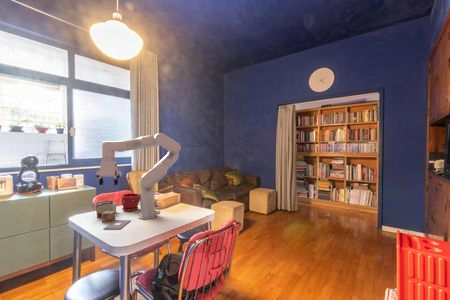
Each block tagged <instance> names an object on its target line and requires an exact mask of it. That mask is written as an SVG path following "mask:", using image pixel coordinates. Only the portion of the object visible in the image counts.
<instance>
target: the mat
mask: <svg viewBox="0 0 450 300" xmlns="http://www.w3.org/2000/svg"><path fill="white" fill-rule="evenodd" d="M131 221H132V219H131V220H130V219H125V220H124V219H115V220H114V221H112V222H110V223H109V224H107V226H104V227H103V230H122V229H123V228H124V227H126V225H128V224H129V223H130V222H131Z"/></svg>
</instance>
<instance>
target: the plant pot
mask: <svg viewBox="0 0 450 300" xmlns="http://www.w3.org/2000/svg"><path fill="white" fill-rule="evenodd" d="M121 204H122V208H121V209H122V210H123V211H124V212H132V211H133V212H134V211H137V210H138V209H139V204H140V194H139V193H125V194H122V195H121Z"/></svg>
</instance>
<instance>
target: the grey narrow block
mask: <svg viewBox="0 0 450 300" xmlns="http://www.w3.org/2000/svg"><path fill="white" fill-rule="evenodd" d="M112 211H115V214H117V202H113V204H112Z"/></svg>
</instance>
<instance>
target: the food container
mask: <svg viewBox="0 0 450 300" xmlns="http://www.w3.org/2000/svg"><path fill="white" fill-rule="evenodd" d="M113 203H114V201H113V200H102V201H98V202H96V203H95V205H94V207H95V211H96V218H97V219H100V218H101V219H102V213H103V212H105V211H112V204H113Z"/></svg>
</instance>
